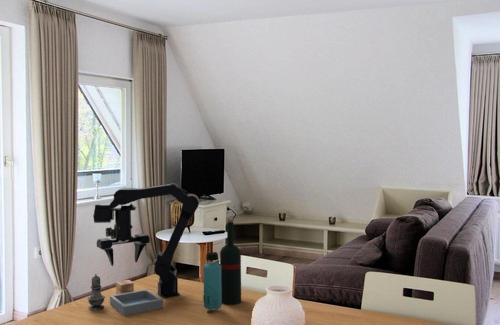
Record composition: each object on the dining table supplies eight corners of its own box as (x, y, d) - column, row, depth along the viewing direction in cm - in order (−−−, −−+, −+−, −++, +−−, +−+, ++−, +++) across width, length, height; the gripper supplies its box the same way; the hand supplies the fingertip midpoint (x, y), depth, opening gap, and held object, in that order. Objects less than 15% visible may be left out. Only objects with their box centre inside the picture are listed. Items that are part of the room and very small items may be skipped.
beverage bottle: (225, 308, 182) (224, 251, 181) (217, 315, 176) (217, 255, 174) (207, 306, 184) (207, 250, 183) (199, 313, 178) (199, 254, 177)
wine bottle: (244, 296, 195) (244, 216, 193) (239, 305, 185) (238, 220, 183) (223, 295, 197) (223, 215, 195) (217, 304, 187) (216, 220, 185)
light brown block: (129, 292, 201) (128, 279, 200) (133, 296, 196) (133, 282, 196) (116, 294, 198) (116, 281, 197) (120, 298, 194) (120, 285, 193)
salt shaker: (100, 311, 180) (99, 276, 179) (84, 310, 181) (83, 275, 180) (108, 305, 185) (107, 271, 185) (92, 304, 187) (92, 271, 186)
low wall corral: (147, 297, 194) (147, 289, 194) (162, 308, 183) (162, 299, 183) (110, 304, 187) (109, 295, 187) (123, 315, 175) (123, 306, 175)
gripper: (138, 216, 207) (139, 256, 208) (91, 221, 197) (92, 263, 197) (150, 220, 198) (151, 261, 199) (101, 226, 187) (102, 269, 188)
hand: (124, 263), depth 196 cm, fingers open, 9 cm apart
